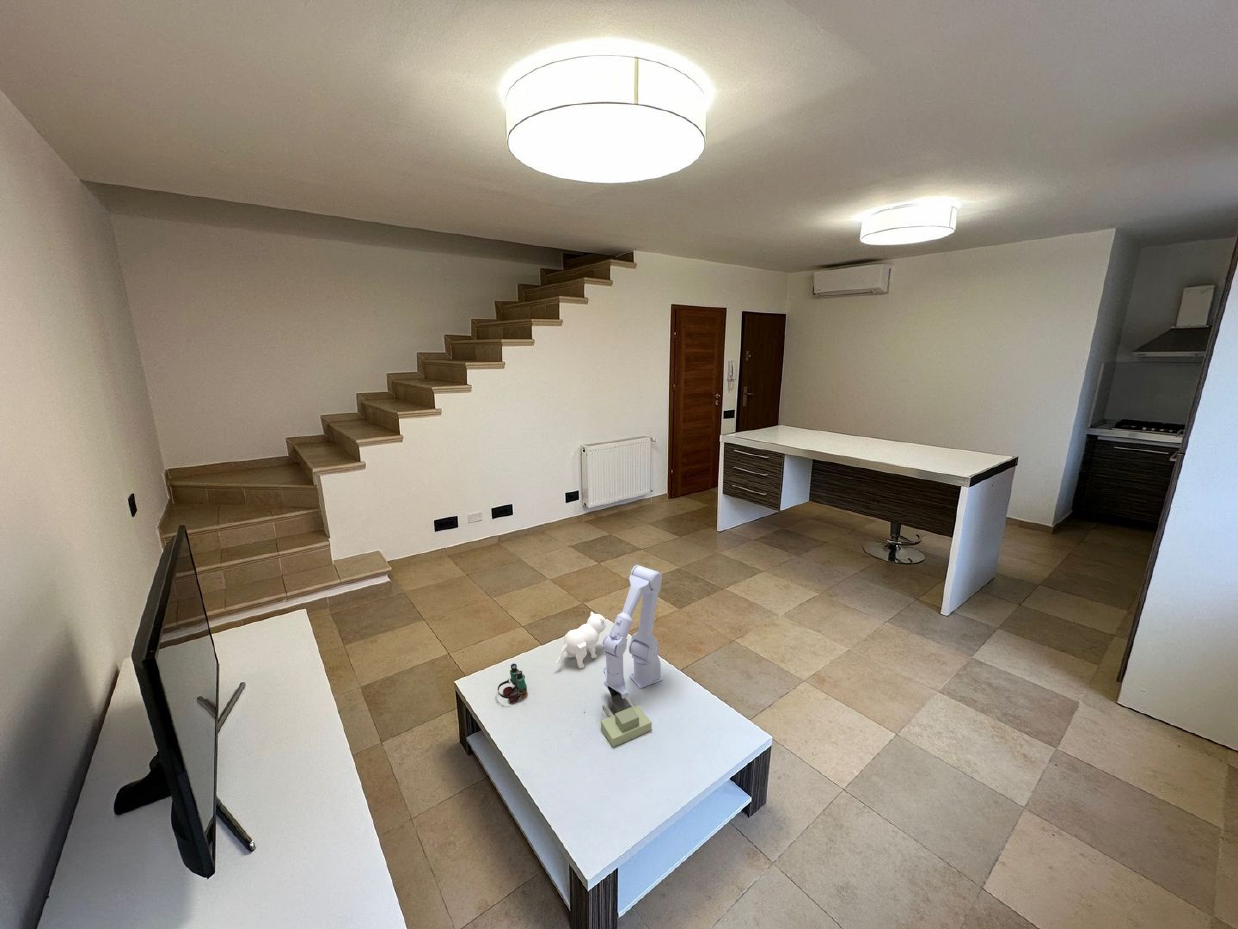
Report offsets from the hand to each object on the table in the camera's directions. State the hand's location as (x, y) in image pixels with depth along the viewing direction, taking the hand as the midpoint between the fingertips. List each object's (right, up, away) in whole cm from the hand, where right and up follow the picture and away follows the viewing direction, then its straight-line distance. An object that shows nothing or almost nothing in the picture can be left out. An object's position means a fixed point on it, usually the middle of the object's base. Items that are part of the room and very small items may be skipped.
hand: (615, 702), depth 167 cm
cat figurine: (-13, +5, +25) cm, 28 cm away
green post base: (+2, -3, -7) cm, 7 cm away
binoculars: (-37, -1, +6) cm, 37 cm away
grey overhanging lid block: (+2, -2, -3) cm, 4 cm away
